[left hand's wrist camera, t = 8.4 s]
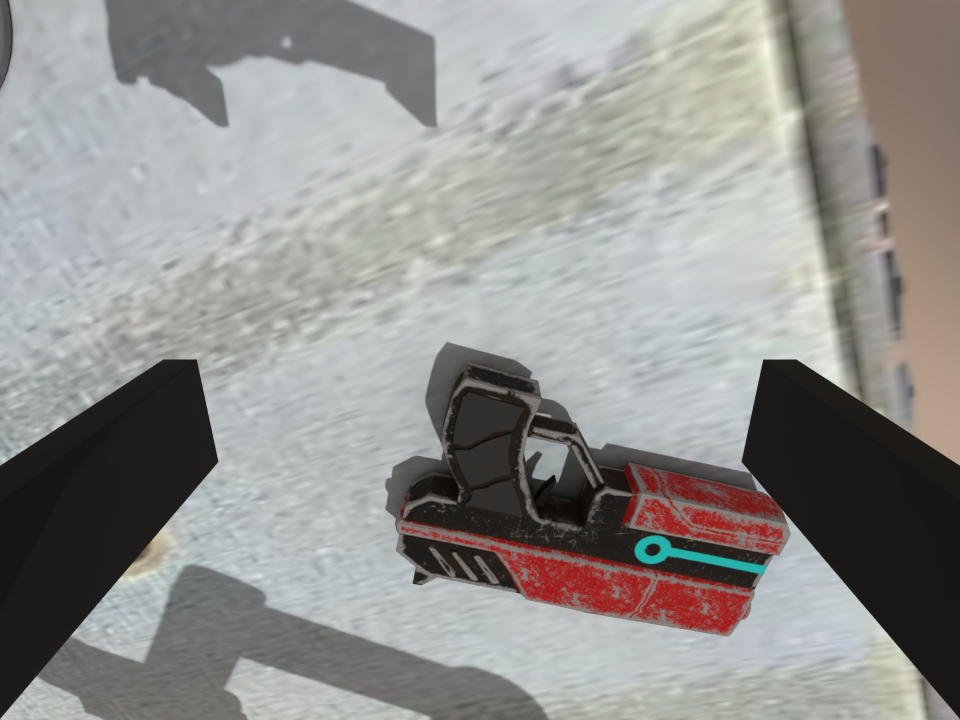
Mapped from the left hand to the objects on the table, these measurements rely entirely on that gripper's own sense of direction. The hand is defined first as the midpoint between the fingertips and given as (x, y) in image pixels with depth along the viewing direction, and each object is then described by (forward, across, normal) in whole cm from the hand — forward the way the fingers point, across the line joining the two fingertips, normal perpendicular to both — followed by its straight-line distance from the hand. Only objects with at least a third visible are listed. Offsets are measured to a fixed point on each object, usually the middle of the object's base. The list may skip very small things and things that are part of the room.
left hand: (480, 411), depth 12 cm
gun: (+26, +9, -22) cm, 35 cm away
